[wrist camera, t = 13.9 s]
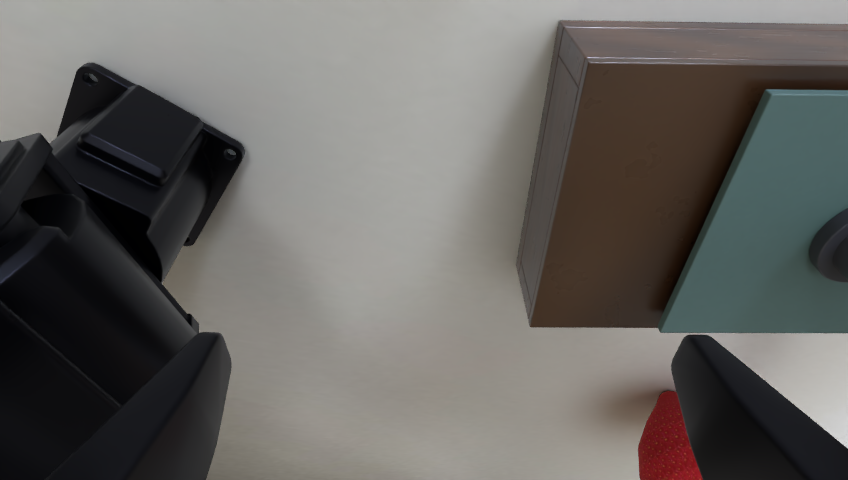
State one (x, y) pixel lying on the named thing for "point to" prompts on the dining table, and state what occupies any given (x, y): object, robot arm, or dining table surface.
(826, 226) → the peg plate
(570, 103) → the sliding lid box
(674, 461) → the strawberry
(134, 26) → the dining table surface
